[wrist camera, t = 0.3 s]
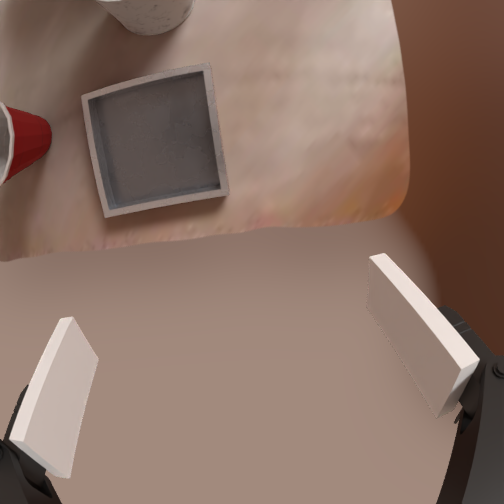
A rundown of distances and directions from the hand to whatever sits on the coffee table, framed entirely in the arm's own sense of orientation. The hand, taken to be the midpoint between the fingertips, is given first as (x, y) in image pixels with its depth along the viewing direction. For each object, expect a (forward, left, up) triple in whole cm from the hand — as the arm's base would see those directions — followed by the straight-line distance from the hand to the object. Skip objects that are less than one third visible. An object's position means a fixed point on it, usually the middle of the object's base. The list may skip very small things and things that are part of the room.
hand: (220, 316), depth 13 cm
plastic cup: (-12, -24, -27) cm, 38 cm away
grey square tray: (-7, -7, -26) cm, 28 cm away
